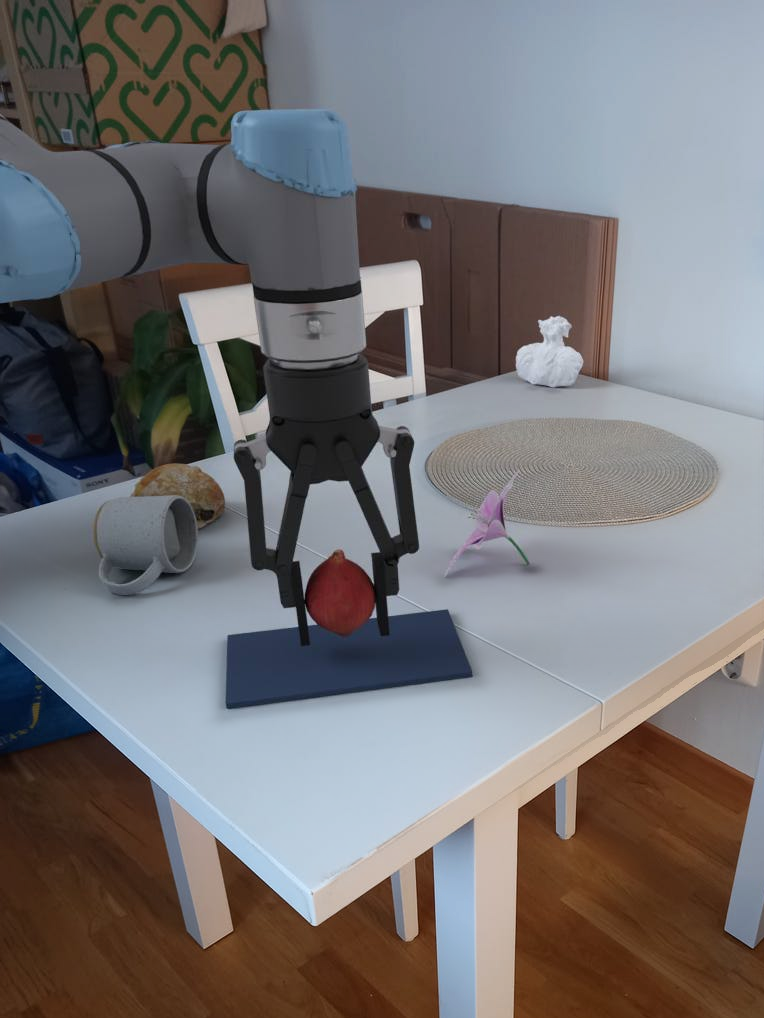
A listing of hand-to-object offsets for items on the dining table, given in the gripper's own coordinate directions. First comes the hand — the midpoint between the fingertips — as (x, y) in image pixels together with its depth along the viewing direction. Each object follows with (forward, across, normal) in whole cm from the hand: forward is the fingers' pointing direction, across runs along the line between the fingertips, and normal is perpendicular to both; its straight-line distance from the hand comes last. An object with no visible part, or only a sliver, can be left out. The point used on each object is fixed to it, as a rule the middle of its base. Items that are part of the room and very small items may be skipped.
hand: (344, 632), depth 78 cm
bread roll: (+3, -16, +35) cm, 39 cm away
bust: (+3, +41, +78) cm, 88 cm away
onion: (0, 0, 0) cm, 0 cm away
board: (+3, 0, 0) cm, 3 cm away
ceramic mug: (+3, -18, +21) cm, 28 cm away
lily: (+3, +16, +15) cm, 22 cm away
